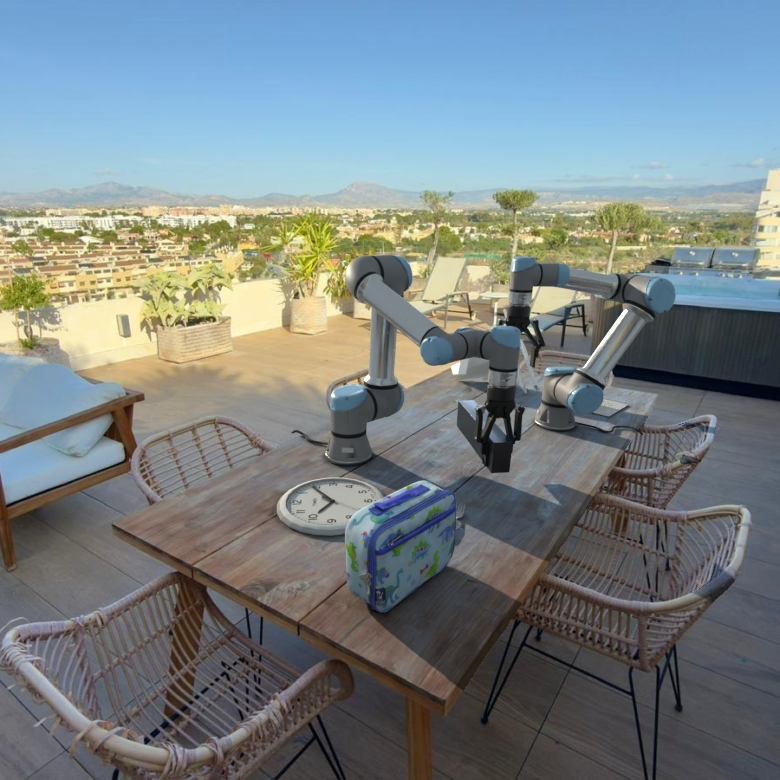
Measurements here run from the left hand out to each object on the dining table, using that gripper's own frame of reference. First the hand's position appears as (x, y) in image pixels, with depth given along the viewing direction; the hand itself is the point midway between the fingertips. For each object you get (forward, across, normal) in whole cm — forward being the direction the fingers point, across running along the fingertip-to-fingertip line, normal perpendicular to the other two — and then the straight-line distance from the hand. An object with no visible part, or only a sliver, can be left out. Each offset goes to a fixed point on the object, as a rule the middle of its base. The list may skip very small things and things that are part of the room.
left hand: (495, 463), depth 146 cm
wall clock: (+10, -46, 0) cm, 47 cm away
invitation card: (+10, +73, +71) cm, 102 cm away
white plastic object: (+10, +34, +103) cm, 109 cm away
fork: (+10, -15, -13) cm, 22 cm away
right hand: (-18, +18, +38) cm, 45 cm away
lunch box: (+10, -32, -35) cm, 48 cm away
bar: (+1, 0, +13) cm, 13 cm away
